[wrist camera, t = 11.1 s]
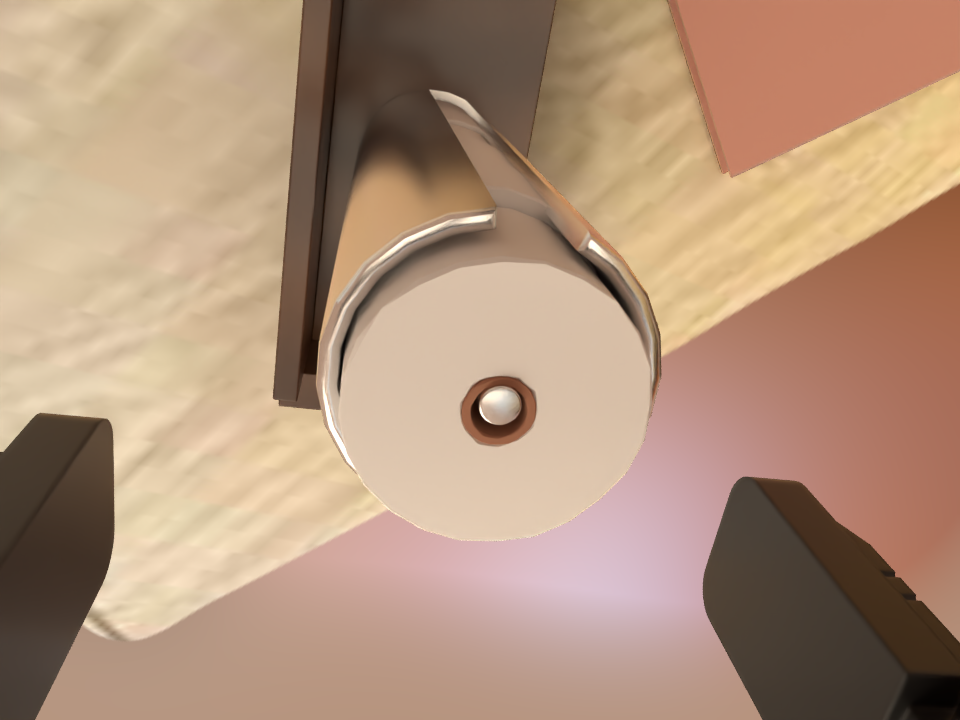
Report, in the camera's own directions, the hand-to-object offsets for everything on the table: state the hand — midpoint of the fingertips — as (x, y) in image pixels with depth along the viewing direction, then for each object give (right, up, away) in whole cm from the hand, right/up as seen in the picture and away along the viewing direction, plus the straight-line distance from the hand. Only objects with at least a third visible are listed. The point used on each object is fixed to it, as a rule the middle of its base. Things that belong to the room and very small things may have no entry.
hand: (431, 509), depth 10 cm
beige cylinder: (-2, +11, +27) cm, 29 cm away
